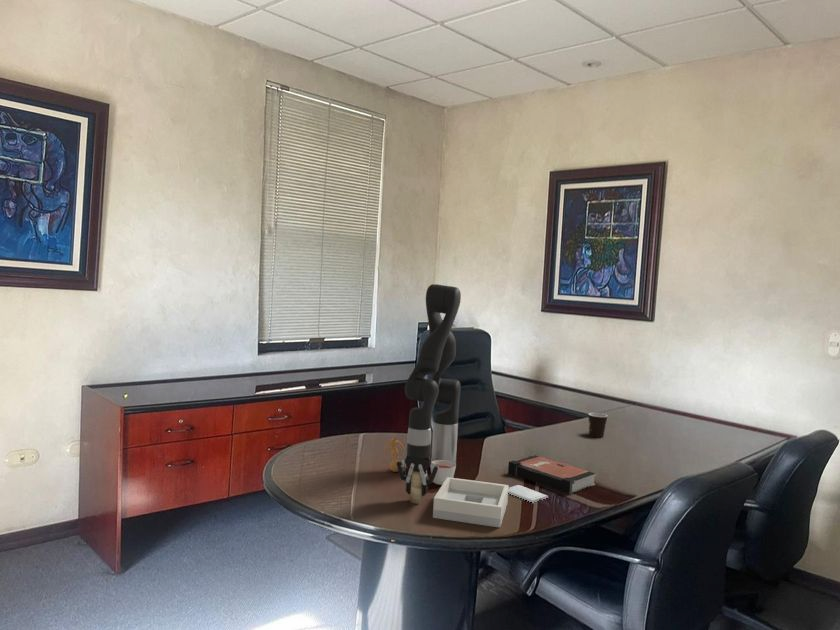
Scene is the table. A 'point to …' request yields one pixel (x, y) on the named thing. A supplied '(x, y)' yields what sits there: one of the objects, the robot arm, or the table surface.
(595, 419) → the coffee mug
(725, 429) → the table surface
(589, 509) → the table surface
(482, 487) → the tray
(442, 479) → the white cup
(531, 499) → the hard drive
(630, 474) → the table surface
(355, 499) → the table surface
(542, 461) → the book
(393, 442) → the figurine
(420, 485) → the peg
